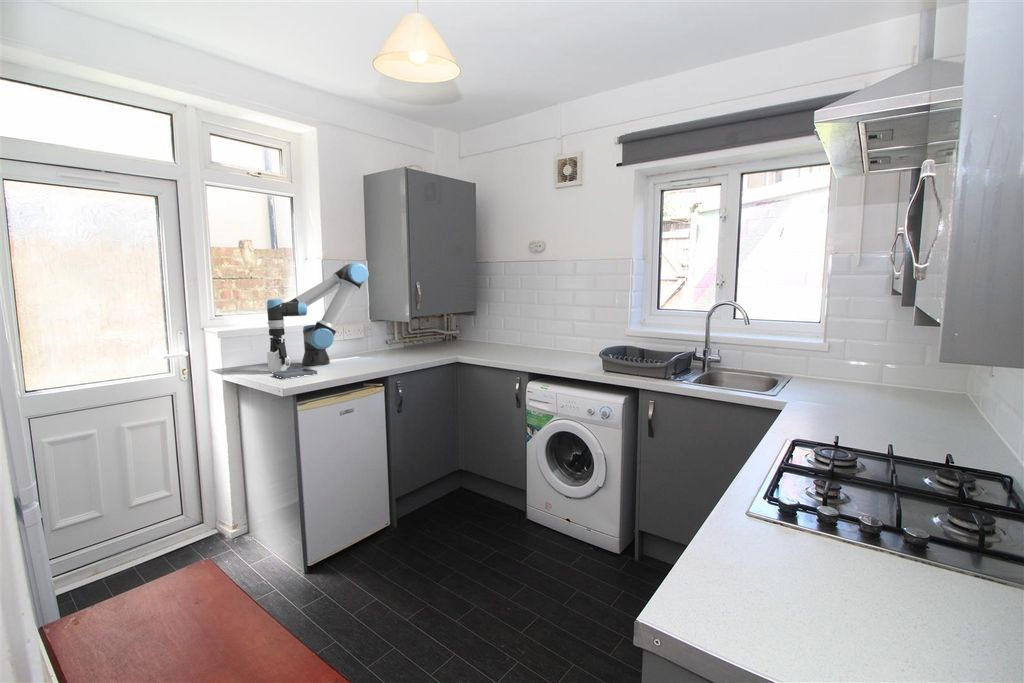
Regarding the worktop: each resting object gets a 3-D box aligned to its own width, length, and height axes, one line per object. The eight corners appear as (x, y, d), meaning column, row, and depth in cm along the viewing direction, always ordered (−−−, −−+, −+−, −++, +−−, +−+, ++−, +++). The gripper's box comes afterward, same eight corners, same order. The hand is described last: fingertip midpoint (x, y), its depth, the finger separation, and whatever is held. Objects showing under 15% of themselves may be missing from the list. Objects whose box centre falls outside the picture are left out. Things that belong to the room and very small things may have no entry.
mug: (286, 373, 254) (284, 353, 252) (265, 373, 255) (263, 353, 254) (295, 370, 262) (293, 350, 261) (274, 370, 264) (273, 350, 262)
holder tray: (305, 371, 258) (305, 367, 258) (317, 374, 248) (317, 370, 248) (273, 375, 246) (272, 372, 246) (284, 379, 236) (284, 375, 236)
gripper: (261, 327, 261) (264, 367, 264) (277, 329, 246) (280, 372, 249) (275, 326, 267) (278, 366, 269) (292, 328, 251) (294, 370, 254)
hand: (279, 369), depth 259 cm, fingers closed on mug, 10 cm apart
